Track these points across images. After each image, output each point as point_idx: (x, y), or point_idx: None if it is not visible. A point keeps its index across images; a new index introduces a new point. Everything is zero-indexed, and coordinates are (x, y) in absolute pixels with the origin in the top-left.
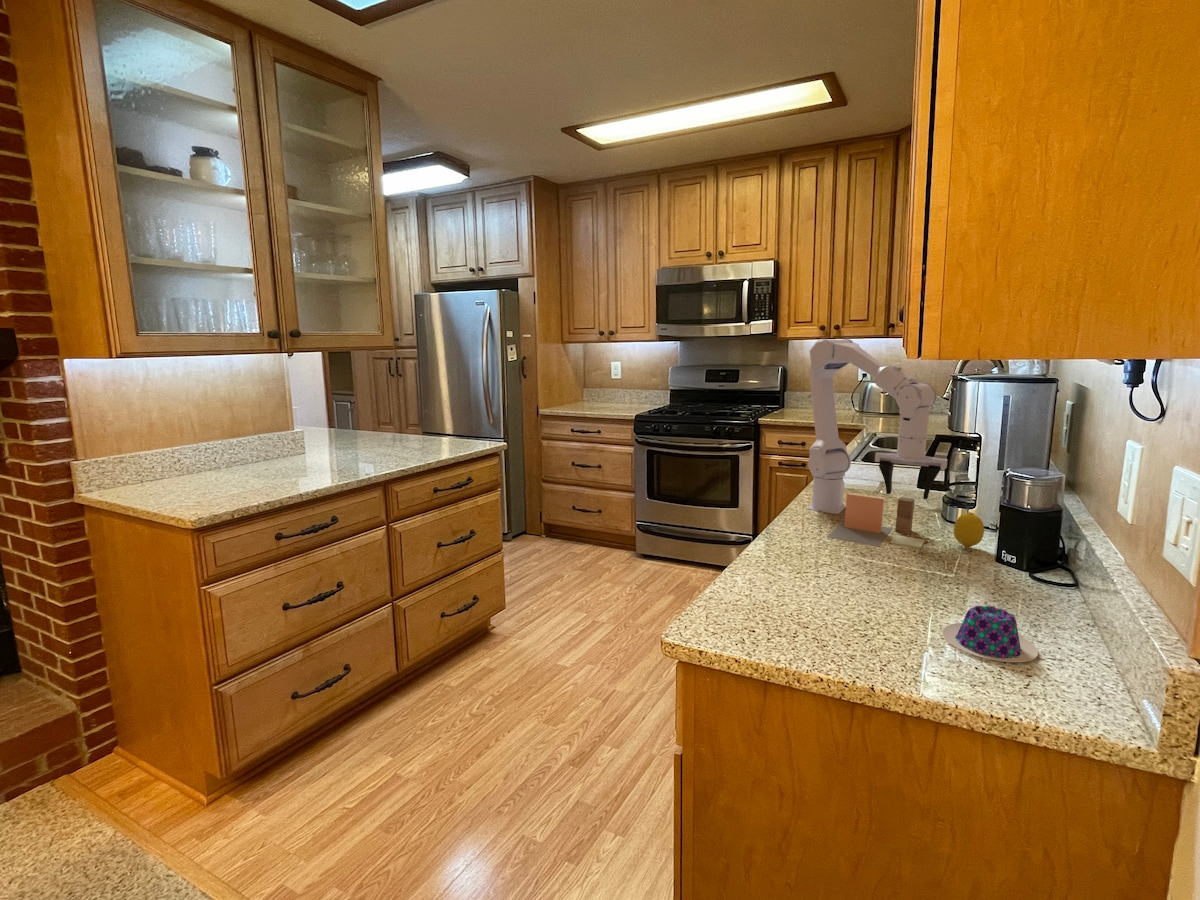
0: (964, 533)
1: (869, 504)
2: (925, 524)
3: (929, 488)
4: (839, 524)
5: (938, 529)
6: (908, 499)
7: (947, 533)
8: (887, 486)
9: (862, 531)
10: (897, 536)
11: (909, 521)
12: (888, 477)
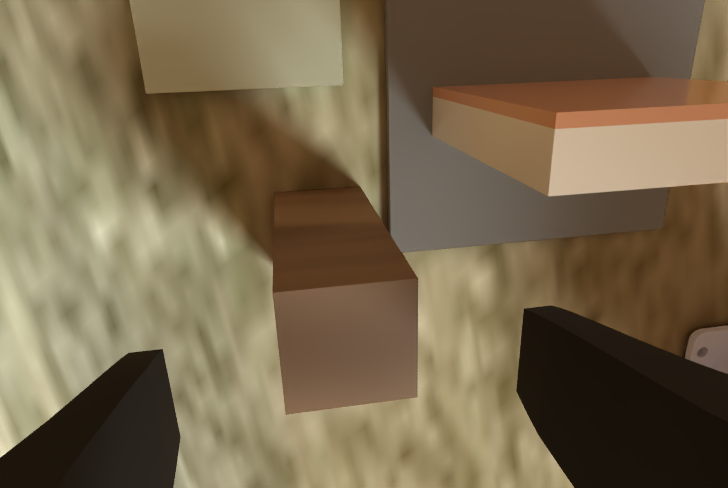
0: None
1: (639, 97)
2: (256, 464)
3: (29, 437)
4: None
5: None
6: (331, 354)
7: None
8: (606, 334)
9: (541, 47)
10: (321, 56)
11: (283, 221)
12: (711, 404)
